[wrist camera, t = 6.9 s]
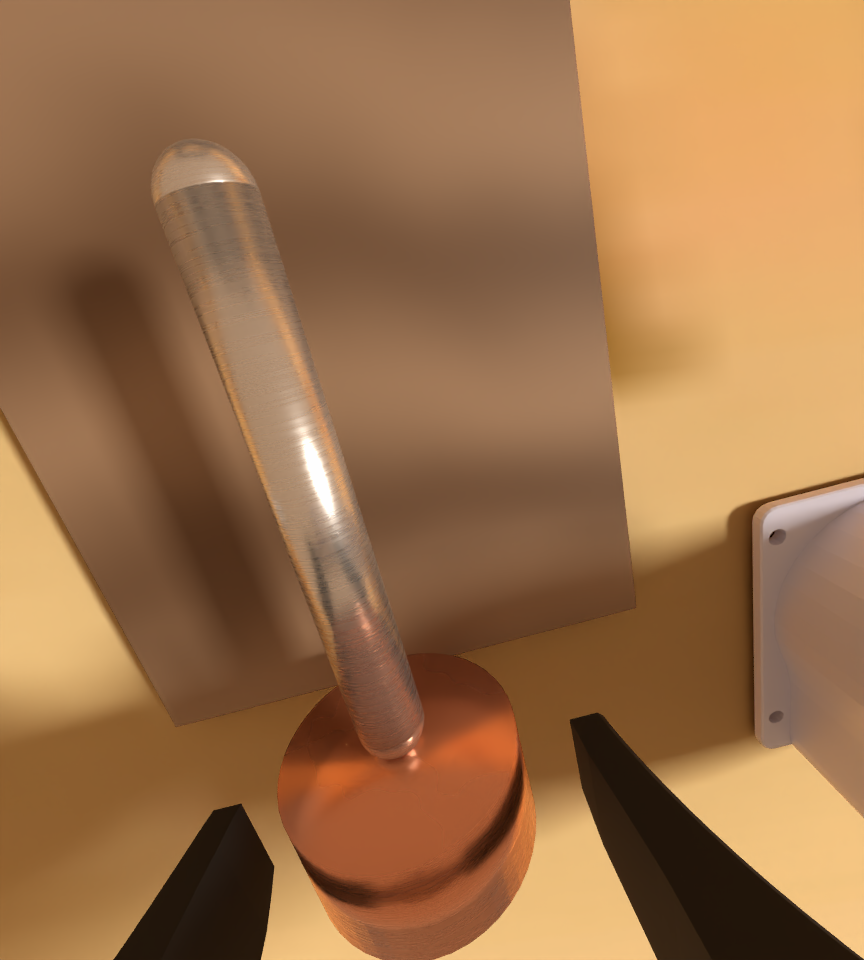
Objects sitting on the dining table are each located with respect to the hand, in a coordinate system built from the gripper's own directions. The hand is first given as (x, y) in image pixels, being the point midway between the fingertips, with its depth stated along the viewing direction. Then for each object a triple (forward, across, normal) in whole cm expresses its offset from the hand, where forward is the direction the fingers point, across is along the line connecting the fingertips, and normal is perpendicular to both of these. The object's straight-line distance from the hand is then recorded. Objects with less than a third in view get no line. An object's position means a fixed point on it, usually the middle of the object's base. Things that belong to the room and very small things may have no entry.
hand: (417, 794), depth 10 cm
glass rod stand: (+3, 0, -6) cm, 6 cm away
